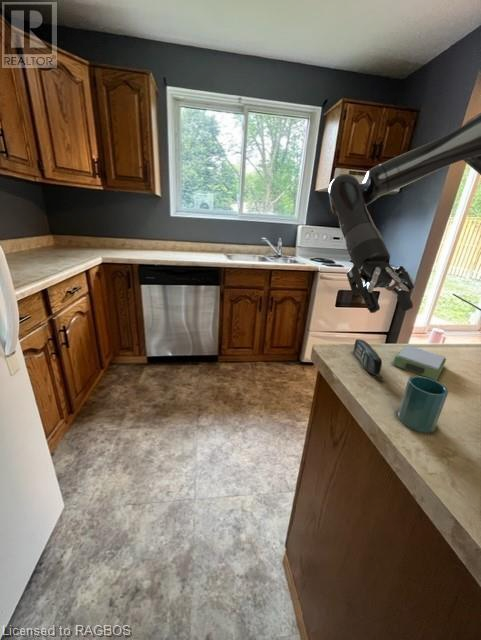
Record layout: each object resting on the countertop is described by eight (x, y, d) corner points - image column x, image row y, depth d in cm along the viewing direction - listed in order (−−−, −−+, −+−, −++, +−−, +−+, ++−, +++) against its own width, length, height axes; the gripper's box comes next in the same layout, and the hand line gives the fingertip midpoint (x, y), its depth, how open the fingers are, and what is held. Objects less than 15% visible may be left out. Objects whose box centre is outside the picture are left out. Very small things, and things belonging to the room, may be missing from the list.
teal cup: (402, 406, 57) (413, 372, 54) (437, 421, 53) (450, 385, 50) (393, 420, 53) (404, 384, 50) (431, 438, 49) (445, 400, 46)
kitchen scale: (403, 353, 80) (406, 344, 79) (443, 366, 74) (447, 356, 73) (392, 366, 73) (395, 355, 72) (435, 381, 67) (439, 370, 66)
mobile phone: (354, 337, 78) (377, 362, 64) (364, 338, 78) (389, 362, 64) (350, 353, 80) (372, 380, 66) (361, 353, 80) (385, 381, 65)
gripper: (349, 236, 58) (376, 303, 51) (402, 238, 62) (433, 300, 55) (330, 257, 64) (352, 319, 58) (379, 258, 68) (405, 316, 62)
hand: (392, 310), depth 57 cm, fingers open, 8 cm apart
